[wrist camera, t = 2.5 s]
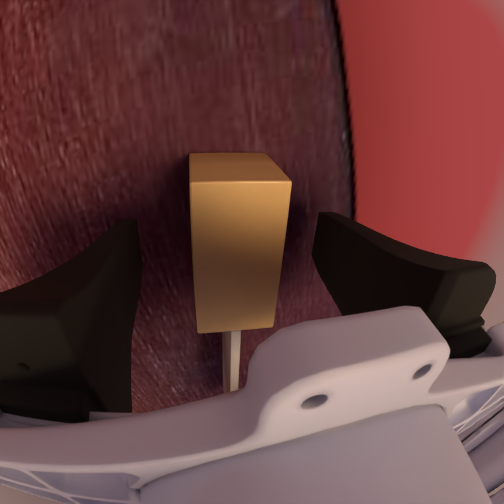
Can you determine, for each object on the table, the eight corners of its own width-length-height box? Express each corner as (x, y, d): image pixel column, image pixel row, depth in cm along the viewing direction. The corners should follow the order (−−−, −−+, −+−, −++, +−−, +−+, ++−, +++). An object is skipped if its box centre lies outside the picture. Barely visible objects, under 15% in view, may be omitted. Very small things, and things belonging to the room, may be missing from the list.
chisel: (189, 153, 11) (189, 182, 8) (265, 152, 12) (292, 181, 9) (202, 386, 19) (208, 431, 16) (247, 382, 20) (257, 425, 17)
